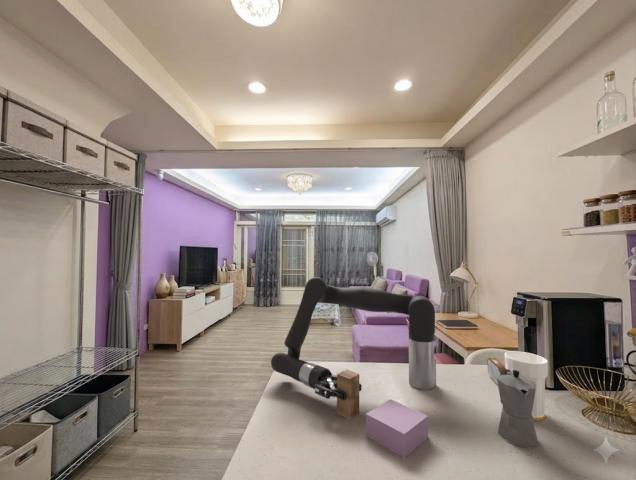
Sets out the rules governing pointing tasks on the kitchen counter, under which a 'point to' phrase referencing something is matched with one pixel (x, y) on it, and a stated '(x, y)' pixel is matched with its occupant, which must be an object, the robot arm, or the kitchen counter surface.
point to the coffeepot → (517, 409)
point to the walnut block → (348, 393)
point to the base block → (397, 427)
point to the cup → (530, 376)
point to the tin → (495, 368)
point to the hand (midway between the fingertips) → (353, 392)
